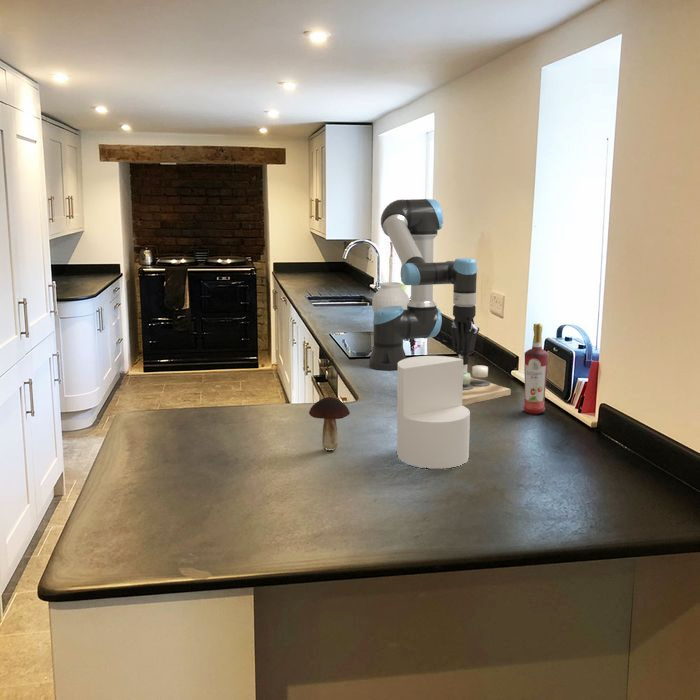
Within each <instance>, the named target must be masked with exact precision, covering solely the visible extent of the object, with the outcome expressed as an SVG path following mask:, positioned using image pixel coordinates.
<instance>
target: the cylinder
mask: <svg viewBox="0 0 700 700" xmlns="http://www.w3.org/2000/svg"><path fill="white" fill-rule="evenodd" d="M396 383H397V386H396V387H397V389H396V390H397V393H396V394H397V397H396V398H397V399H396V400H397V401H396V403H397V405H396V406H397V408H396V409H397V411H396V413H397V414H396V416H397V417H396V419H397V420H396V421H397V422H396V423H397V424H396V425H397V427H396V428H397V430H396V433H397V434H396V435H397V436H396V455H398V457H399V458H400V459H401V460H403V461H405V462H407V463H410V464H412V465H415V466H419V467H425V468H426V467H427V468H441V469H442V468H451V467H456V466H459V467H461V466H463V465H462V464H464V463H465V464H467V462H469V459H468V458H470V451H469V450H470V431H471V430H470V429H471V428H470V426H471V425H470V424H471V423H470V421H471V412H470V409H469V408H467V407H466V406H465V405H463V406H462V392H463V360H462V359H459V358H458V357H454V356H453V357H452V356H445V355H422V356H421V355H420V356H412V357H411V356H410V357H406V359H403V360H401V361H399V362H398V370H397V382H396ZM465 464H464V465H465ZM460 465H461V466H460ZM456 468H457V467H456Z"/></svg>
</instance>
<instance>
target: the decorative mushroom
mask: <svg viewBox="0 0 700 700" xmlns="http://www.w3.org/2000/svg"><path fill="white" fill-rule="evenodd" d="M308 414H309V416H311V417H312V418H314V419H323V425H322V435H321V436H322V437H321V438H322V439H321V440H322V447H324V448H327V449H334V448H336V449H337V448H338V445H339V437H338V436H339V435H338V427H337V420H338V419H339V420H340V419H344V418H346V417H348V416H349V415H350V414H351V412H350V410H349V408H348V407H347V405H346V404H345V403H344V402H343V401H341V399H338V398H336V397H334V396H327V397H324V398H321V399H319V400H318V401H316V402H315V403H314V404H313V405H311V407H310V409H309V411H308ZM324 448H323V449H324Z"/></svg>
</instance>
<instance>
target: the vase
mask: <svg viewBox="0 0 700 700" xmlns="http://www.w3.org/2000/svg"><path fill="white" fill-rule="evenodd" d="M402 285H403V283H401V282H395V281H394V282H393V281H390V282H389V281H387V282H382V283H381V282H380V284H379V286H380V288H379V289H378V290H377V291H376V292H375V293H374V295H373V298H372V301H371V307H372V312H373V314H374V313H375V311H376V310H378V309H380V308H384V307H389V306H401V307H403V309H404V310H407V304H408V303H409V302H410V298H409V296H408V293H407V292H406V291H405V290H404V289H403V288H402Z"/></svg>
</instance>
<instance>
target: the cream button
mask: <svg viewBox="0 0 700 700" xmlns="http://www.w3.org/2000/svg"><path fill="white" fill-rule="evenodd" d="M488 374H489V367H488V366H486V365H481V364H480V365H473V366H471V377H473V378H477V379H480V378H487V377H488V376H489V375H488Z"/></svg>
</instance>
